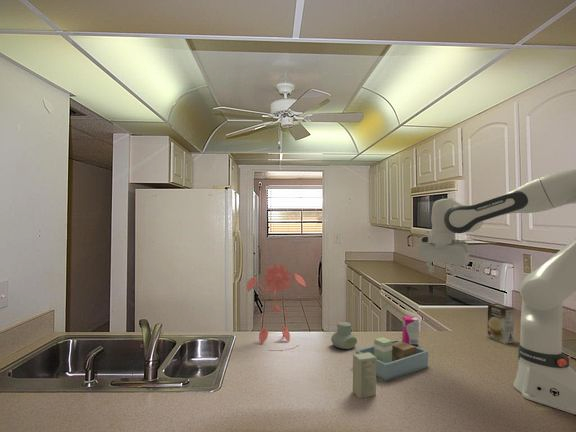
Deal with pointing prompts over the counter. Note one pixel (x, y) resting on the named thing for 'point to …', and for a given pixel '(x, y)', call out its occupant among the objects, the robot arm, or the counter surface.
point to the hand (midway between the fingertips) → (442, 274)
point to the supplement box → (410, 330)
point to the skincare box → (364, 374)
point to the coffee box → (500, 323)
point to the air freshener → (344, 336)
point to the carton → (383, 349)
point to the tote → (398, 364)
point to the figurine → (275, 281)
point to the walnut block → (402, 350)
